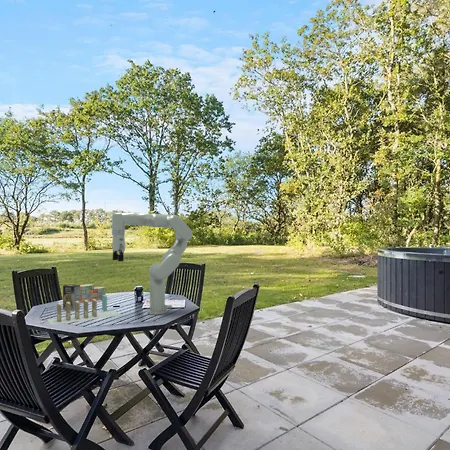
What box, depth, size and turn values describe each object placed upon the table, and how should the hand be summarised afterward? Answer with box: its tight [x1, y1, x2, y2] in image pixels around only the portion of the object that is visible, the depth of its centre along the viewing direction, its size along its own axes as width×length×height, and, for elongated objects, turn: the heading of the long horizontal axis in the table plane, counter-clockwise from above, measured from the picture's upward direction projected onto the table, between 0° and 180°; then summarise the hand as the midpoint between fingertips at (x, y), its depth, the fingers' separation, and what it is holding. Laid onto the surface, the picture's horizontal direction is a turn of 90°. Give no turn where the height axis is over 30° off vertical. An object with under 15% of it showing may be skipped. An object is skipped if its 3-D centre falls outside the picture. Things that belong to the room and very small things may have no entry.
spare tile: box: [101, 294, 108, 312], centre depth 238 cm, size 2×5×10 cm, turn 34°
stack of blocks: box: [80, 283, 107, 304], centre depth 270 cm, size 21×6×12 cm, turn 133°
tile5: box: [65, 302, 72, 321], centre depth 214 cm, size 2×5×10 cm, turn 34°
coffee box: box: [62, 284, 81, 311], centre depth 243 cm, size 9×6×16 cm
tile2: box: [91, 299, 98, 317], centre depth 223 cm, size 2×5×10 cm, turn 34°
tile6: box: [56, 302, 62, 322], centre depth 212 cm, size 2×5×10 cm, turn 34°
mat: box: [47, 310, 121, 326], centre depth 220 cm, size 40×14×1 cm, turn 124°
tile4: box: [74, 301, 81, 319], centre depth 217 cm, size 2×5×10 cm, turn 34°
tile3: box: [83, 300, 89, 318], centre depth 220 cm, size 2×5×10 cm, turn 34°
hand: (118, 260), depth 222 cm, fingers open, 9 cm apart
